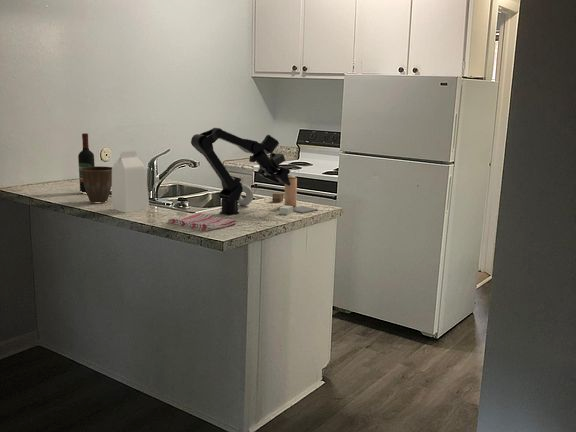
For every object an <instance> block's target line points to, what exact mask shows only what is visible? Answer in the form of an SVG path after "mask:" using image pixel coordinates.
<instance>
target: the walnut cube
mask: <svg viewBox="0 0 576 432" xmlns="http://www.w3.org/2000/svg"><path fill="white" fill-rule="evenodd" d="M271 197H272V198H271V199H272V200H271V201H272V202H273V203H282V202H284V192H273V193H272V196H271Z"/></svg>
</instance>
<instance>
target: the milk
mask: <svg viewBox="0 0 576 432" xmlns="http://www.w3.org/2000/svg"><path fill="white" fill-rule="evenodd" d="M119 155H120V156H119V158H117V160H116V161H115V163H114V164H113V166H112V186H111V209H112V208H113V209H116V210H120V211H123V212H131V213H133V212H132V211H137V212H141V211H140V210H144V211H148V210H149V211H150V201H149V189H148V179H147V168H146V166H145V165H144V163H143V162H142V160H140V158H139V157H138V155H137V152H136V151H135V150H121V153H120V154H119ZM116 210H115V211H116ZM123 212H122V213H123Z"/></svg>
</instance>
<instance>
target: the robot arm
mask: <svg viewBox="0 0 576 432" xmlns="http://www.w3.org/2000/svg"><path fill="white" fill-rule="evenodd" d="M217 140H222V141H225V142H226V143H229V144H231V145H234V146H236V147H238V148H239V149H240V151H243V152H245V153H247V154H251V155H250V156H249V158H248V159H249V160H248V161H249V162H250V163H256V164H257V165H258V170H257V175H258V176H259V177H262V178H265V179H267V180H269V181H271V182H274V183H276V184H278V183H279V182H280V183H282V184H284V185H285V184H286V185H288V186H290V185H291V183H290V181H289V178H288V176H289V174H290V172H291V170H290V168H289V167H285V166H280V164H282V163H284V162H286V158H285V155H284V154H283V153H274V151H275V150H276V148H277V147H278V146H279V145H280V143H279V141H278V140H277V139H276V138H275V137H273V136H271V135H270V134H267V135H265V137H264V139H263V140H262V141H261V142H259V141H257V140H253V139H248V138H244V137H240V136H239V135H236V134H234V133H232V132H228V131H226V130H225V129H224V130H223V129H222V128H220V127H213V128H211V129H209V130H206V131H204V132H201V133H199V134H198V133H197V134H194V135H193V136H192V137H191V139H190V144H191V146H192V147H193V148H195V150H196V151H198V153H199V154H201V155H202V156H203V157H204V158H205V159H206V161H207V163H208V164H209V165H210V167H211V168H212V169H213V171H214V173H215V174H216V175H217V177H218V178H219V179H220V181H221V182H220V183H221V187H222V190H221V191H220V192H219V193H218V196H219V199H221V211H219V214H223V215H227V216H230V215H237V214H240V211H239V204H238V202H237V200H239V199H240V195H241V196H242V193H243V192H242V190H243V187H242V184H243V183H242V182H241V181H240V179H239V177H237V176H234V175H231V174H230V173H229V171H228V170H227V168H226V166H225V165H224V164H223V162H222V161H221V159H220V158H219V156H218V155H217V153H216V152H215V150H214V145H213V144H214V143H216V141H217ZM279 167H280V168H279Z"/></svg>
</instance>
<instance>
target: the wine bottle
mask: <svg viewBox="0 0 576 432" xmlns="http://www.w3.org/2000/svg"><path fill="white" fill-rule="evenodd" d="M81 138H82V150H81V151H80V152H79V153H78V156H77V159H78V176H79V177H78V178H79V179H78V180H79V192H80V191H82V192H86V190H85V187H84V183H83V179H82V175H81V168H84V167H96V166H95V165H96V164H95V154H94V152H92V151H91V150H90V148H89V133H85V132H84V133H81Z"/></svg>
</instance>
